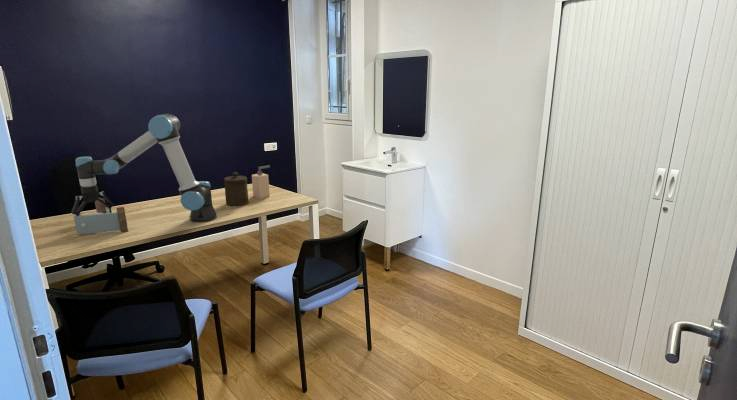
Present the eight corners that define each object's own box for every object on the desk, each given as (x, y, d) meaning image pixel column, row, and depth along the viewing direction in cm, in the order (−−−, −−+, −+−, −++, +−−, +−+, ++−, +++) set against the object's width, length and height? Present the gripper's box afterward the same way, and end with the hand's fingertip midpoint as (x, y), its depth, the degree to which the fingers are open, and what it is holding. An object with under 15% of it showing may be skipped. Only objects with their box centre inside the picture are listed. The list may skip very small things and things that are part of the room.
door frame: (128, 231, 223) (124, 207, 219) (122, 233, 221) (118, 208, 217) (102, 218, 244) (98, 196, 240) (96, 219, 242) (92, 197, 238)
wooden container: (248, 199, 286) (245, 169, 280) (249, 205, 272) (246, 173, 266) (226, 201, 281) (223, 170, 275) (226, 207, 268) (223, 175, 262)
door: (124, 228, 225) (121, 211, 222) (123, 230, 222) (120, 213, 220) (78, 233, 218) (74, 216, 215) (76, 235, 215) (72, 217, 212)
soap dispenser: (259, 198, 289) (257, 168, 283) (253, 196, 295) (250, 166, 289) (274, 195, 298) (272, 166, 292) (267, 193, 304) (266, 164, 298)
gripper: (111, 180, 231) (117, 215, 236) (58, 188, 212) (67, 226, 217) (116, 182, 226) (122, 217, 232) (63, 191, 207) (72, 229, 213)
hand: (96, 222), depth 225 cm, fingers open, 13 cm apart
